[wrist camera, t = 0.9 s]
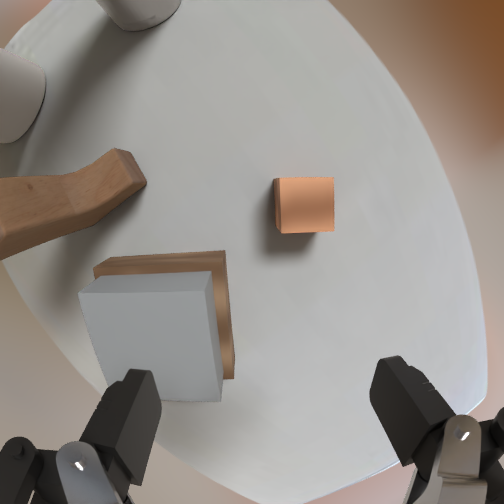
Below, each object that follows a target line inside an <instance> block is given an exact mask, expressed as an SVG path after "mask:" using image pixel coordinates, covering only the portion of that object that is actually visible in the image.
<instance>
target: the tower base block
mask: <svg viewBox="0 0 504 504" xmlns="http://www.w3.org/2000/svg"><path fill="white" fill-rule="evenodd" d="M93 271H94V276H95V280H96V279H97V278H99V277H100V276H108V275H134V274H158V273H179V272H199V271H211V272H212V282H213V291H214V300H215V309H216V318H217V326H218V334H219V342H220V349H221V357H222V364H223V371H224V373H223V379H234V365H235V354H234V344H233V334H232V324H231V313H230V302H229V291H228V279H227V267H226V254H225V250H223V251H205V252H188V253H171V254H155V255H138V256H122V257H110V258H108V259H107V260H105V261H103V262H102V263H100V264H99V265H97V266H95V267H94V268H93Z"/></svg>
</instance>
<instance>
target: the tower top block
mask: <svg viewBox="0 0 504 504" xmlns="http://www.w3.org/2000/svg"><path fill="white" fill-rule="evenodd" d="M78 297H79V301H80V305H81V309H82V312H83V316H84V319H85V323H86V326H87V329H88V332H89V335H90V338H91V341H92V344H93V347H94V350H95V353H96V356H97V358H98V361H99V364H100V366H101V369H102V372H103V374H104V377H105V379H106V381H107V384H108V386H109V387H110V386H111V385H112V384H113V383H114V382H116V381H123V379H124V377H125V375H126V373H127V372H128V370H129V369H131V368H132V369H142V370H150V371H151V372H152V373H153V376H154V380H155V383H156V387H157V390H158V393H159V397H160V400H169V401H193V402H221V396H222V384H223V373H224V371H223V364H222V357H221V349H220V342H219V334H218V326H217V318H216V309H215V300H214V291H213V282H212V272H211V271H199V272H179V273H158V274H134V275H108V276H100V277H99V278H97V279H96V280H94V281H93V282H92V283H90V284H89V285H88V286H86V287H85V288H84V289H82V290H81V291H80V292H78Z"/></svg>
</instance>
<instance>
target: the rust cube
mask: <svg viewBox="0 0 504 504" xmlns="http://www.w3.org/2000/svg"><path fill="white" fill-rule="evenodd" d="M274 197H275V223H276V227H277V228H278V229H279V231H280V232H281V233H303V232H327V231H334V177H295V178H276V179H274Z"/></svg>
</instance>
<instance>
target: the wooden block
mask: <svg viewBox="0 0 504 504" xmlns="http://www.w3.org/2000/svg"><path fill="white" fill-rule="evenodd" d="M146 183H147V181H146V179H145V177H144V175H143V173H142V172H141V170H140V168H139V166H138V165H137V163H136V161H135V159H134V157H133V156H132V154H131V153H130V152H128V151H124V150H120V149H116V148H114V149H111V150H110V151H109V152H107V153H106V154H104V155H103V156H102V157H100V158H99V159H98V160H96V161H95V162H94V163H92V164H91V165H88V166H86V167H84V168H82V169H80V170H78V171H76V172H73V173H69V174H64V175H45V176H21V177H5V178H0V260H3V259H5V258H7V257H10V256H12V255H14V254H17V253H19V252H22V251H24V250H27V249H29V248H32V247H34V246H37V245H40V244H42V243H45V242H47V241H50V240H53V239H56V238H58V237H61V236H64V235H67V234H70V233H73V232H75V231H78V230H81V229H84V228H87V227H90V226H93V225H95V224H96V223H97V222H98V221H99V220H101V219H102V218H103V217H104V216H106V215H107V214H108V213H109V212H111V211H112V210H113V209H114V208H116V207H117V206H118V205H119V204H121V203H122V202H123V201H125V200H126V199H127V198H129V197H130V196H131V195H133V194H134V193H135V192H137V191H138V190H139V189H141V188H142V187H144V186H145V185H146Z"/></svg>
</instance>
